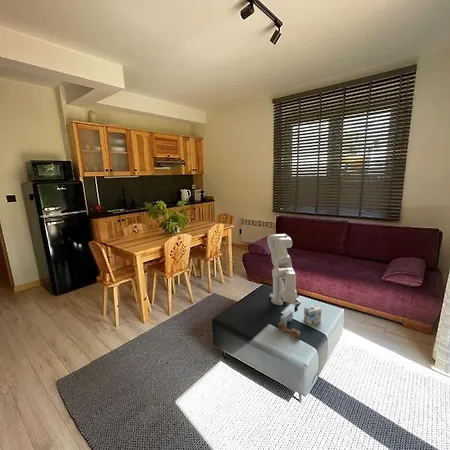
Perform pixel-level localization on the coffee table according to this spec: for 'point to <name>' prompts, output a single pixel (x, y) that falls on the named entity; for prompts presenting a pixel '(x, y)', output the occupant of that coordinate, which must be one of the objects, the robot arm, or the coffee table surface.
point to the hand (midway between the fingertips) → (290, 308)
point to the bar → (287, 317)
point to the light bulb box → (312, 314)
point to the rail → (291, 332)
